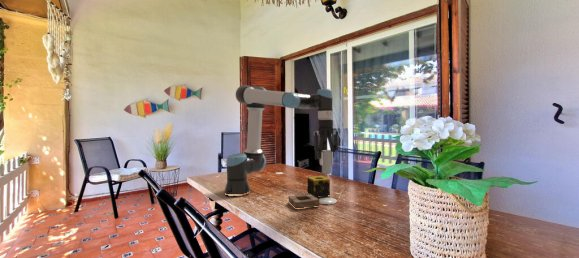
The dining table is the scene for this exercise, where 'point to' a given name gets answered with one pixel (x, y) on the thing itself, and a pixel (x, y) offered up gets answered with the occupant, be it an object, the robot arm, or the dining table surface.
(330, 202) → the white round domed part
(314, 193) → the candle
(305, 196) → the socket block
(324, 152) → the beverage can
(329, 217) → the dining table surface
